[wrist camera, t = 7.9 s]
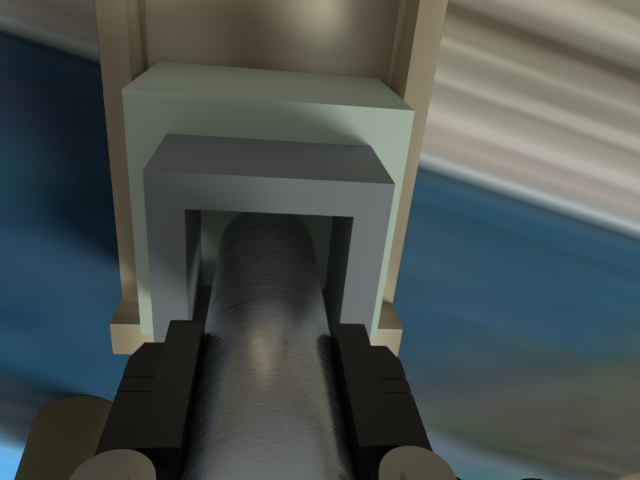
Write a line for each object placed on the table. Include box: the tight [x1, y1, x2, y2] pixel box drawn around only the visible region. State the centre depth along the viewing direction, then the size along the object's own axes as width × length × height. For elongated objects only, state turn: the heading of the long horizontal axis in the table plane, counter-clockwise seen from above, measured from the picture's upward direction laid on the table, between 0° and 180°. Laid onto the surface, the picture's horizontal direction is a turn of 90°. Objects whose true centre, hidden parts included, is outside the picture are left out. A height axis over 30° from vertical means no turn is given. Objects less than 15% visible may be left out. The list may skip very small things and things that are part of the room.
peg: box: [180, 212, 356, 480], centre depth 10 cm, size 3×3×14 cm
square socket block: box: [122, 61, 415, 342], centre depth 19 cm, size 9×9×10 cm
